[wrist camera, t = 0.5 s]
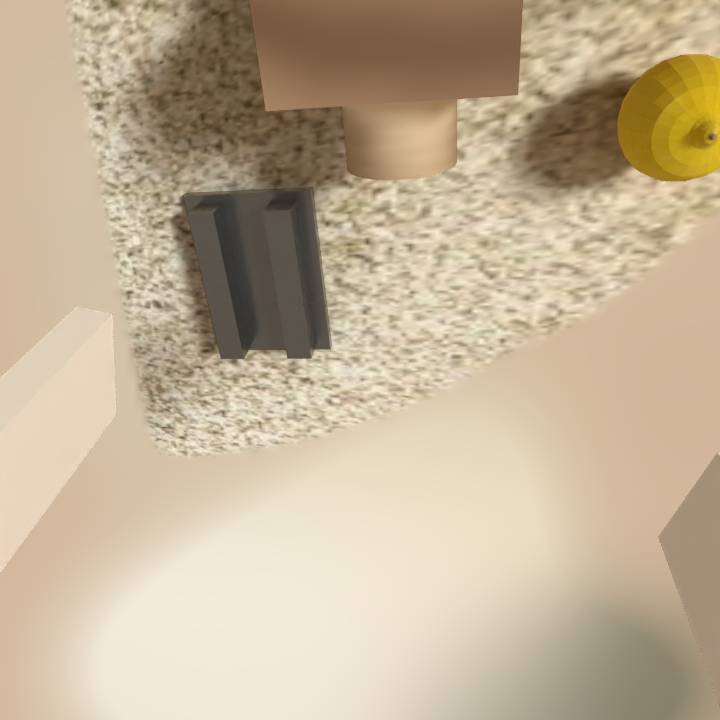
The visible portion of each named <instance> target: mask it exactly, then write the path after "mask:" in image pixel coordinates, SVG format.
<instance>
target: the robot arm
mask: <svg viewBox="0 0 720 720" xmlns="http://www.w3.org/2000/svg"><path fill="white" fill-rule="evenodd" d="M116 414H117V407H116V383H115V361H114V341H113V318H112V314H109V313H105V312H100V311H96V310H92V309H87V308H83V307H79V306H77V307H75V309H73V310H72V311H71V312H70V313H69V314H68V315H67V316H66V317H65V318H64V319H63V320H61V321H60V322H59V323H58V324H57V325H56V326H55V327H54V328H53V329H52V330H51V331H50V332H49V333H47V334H46V336H44V337H43V338H42V339H41V340H40V341H39V342H38V343H37V344H36V345H35V346H33V347H32V348H31V349H30V350H29V351H28V352H27V353H26V354H25V355H24V356H23V357H22V358H21V359H20V360H18V361H17V362H16V363H15V364H14V365H13V366H12V367H11V368H10V369H9V370H8V371H7V372H5V373H4V374H3V375H2V376H1V377H0V572H1V571H2V570H3V568H4V567H5V565H6V564H7V563H8V561H9V560H10V559H11V557H12V556H13V555H14V553H15V552H16V551H17V549H18V548H19V546H20V545H21V544H22V542H23V541H24V540H25V538H26V537H27V536H28V534H29V533H30V531H31V530H32V529H33V527H34V526H35V525H36V523H37V522H38V520H39V519H40V518H41V516H42V515H43V514H44V512H45V511H46V510H47V508H48V507H49V505H50V504H51V503H52V501H53V500H54V499H55V497H56V496H57V495H58V493H59V492H60V491H61V489H62V488H63V486H64V485H65V484H66V482H67V481H68V480H69V478H70V477H71V476H72V474H73V473H74V471H75V470H76V469H77V467H78V466H79V465H80V463H81V462H82V461H83V459H84V458H85V456H86V455H87V454H88V452H89V451H90V450H91V448H92V447H93V446H94V444H95V443H96V441H97V440H98V439H99V437H100V436H101V435H102V433H103V432H104V430H105V429H106V428H107V427H108V425H109V424H110V422H111V421H112V420H113V418H114V417H115V415H116ZM659 540H660V543H661V546H662V548H663V551H664V554H665V557H666V559H667V562H668V565H669V568H670V570H671V573H672V576H673V579H674V582H675V584H676V587H677V589H678V593H679V595H680V598H681V601H682V604H683V606H684V609H685V612H686V615H687V617H688V620H689V623H690V626H691V628H692V631H693V634H694V637H695V640H696V642H697V645H698V648H699V650H700V653H701V656H702V659H703V661H704V664H705V667H706V670H707V673H708V675H709V678H710V681H711V684H712V686H713V689H714V692H715V695H716V698H717V700H718V703H719V706H720V453H719V452H718V453H717V454H716V456H715V457H714V458H713V460H712V461H711V463H710V464H709V465H708V467H707V468H706V470H705V471H704V473H703V474H702V475H701V477H700V478H699V480H698V481H697V483H696V484H695V485H694V487H693V488H692V490H691V491H690V492H689V494H688V495H687V497H686V498H685V500H684V501H683V503H682V504H681V506H680V507H679V508H678V510H677V511H676V513H675V514H674V515H673V517H672V518H671V519H670V521H669V522H668V524H667V525H666V527H665V528H664V529H663V531H662V532H661V534H660V535H659Z"/></svg>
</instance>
